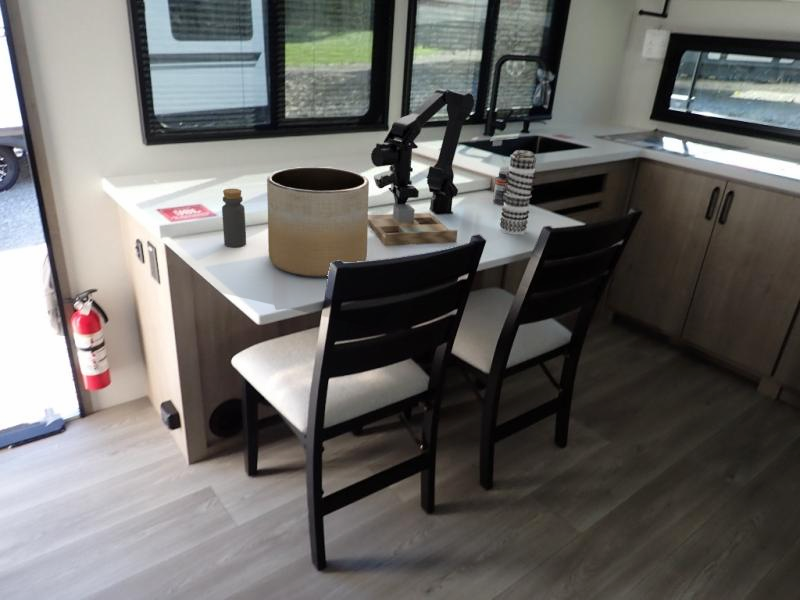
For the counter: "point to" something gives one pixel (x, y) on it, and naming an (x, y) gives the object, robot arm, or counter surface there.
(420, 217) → the wooden compartment tray
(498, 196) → the supplement bottle
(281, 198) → the planter
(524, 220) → the decorative candle
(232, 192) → the bottle
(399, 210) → the block
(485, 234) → the counter surface
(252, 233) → the counter surface
